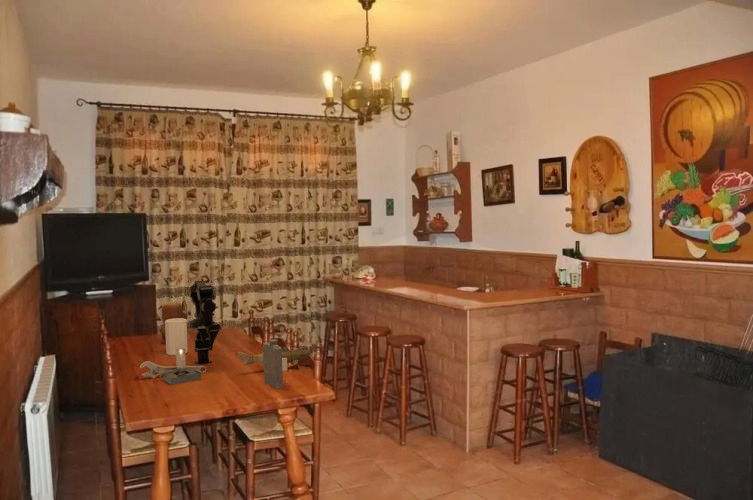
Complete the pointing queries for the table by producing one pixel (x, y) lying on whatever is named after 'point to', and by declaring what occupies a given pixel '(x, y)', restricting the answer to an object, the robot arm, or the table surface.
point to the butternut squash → (170, 313)
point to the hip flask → (273, 364)
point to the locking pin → (180, 361)
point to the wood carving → (286, 357)
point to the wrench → (163, 369)
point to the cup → (175, 335)
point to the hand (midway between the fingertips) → (207, 343)
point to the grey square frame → (181, 376)
